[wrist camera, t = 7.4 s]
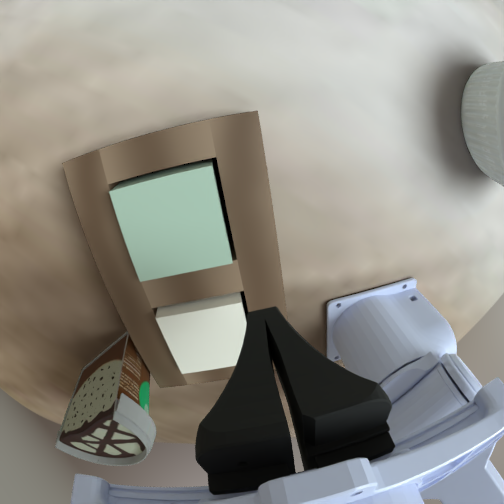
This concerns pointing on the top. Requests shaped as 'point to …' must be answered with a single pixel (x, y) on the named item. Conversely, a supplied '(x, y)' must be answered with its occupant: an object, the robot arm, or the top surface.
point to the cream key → (204, 332)
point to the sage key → (173, 221)
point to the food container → (110, 409)
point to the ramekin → (485, 119)
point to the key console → (196, 282)
